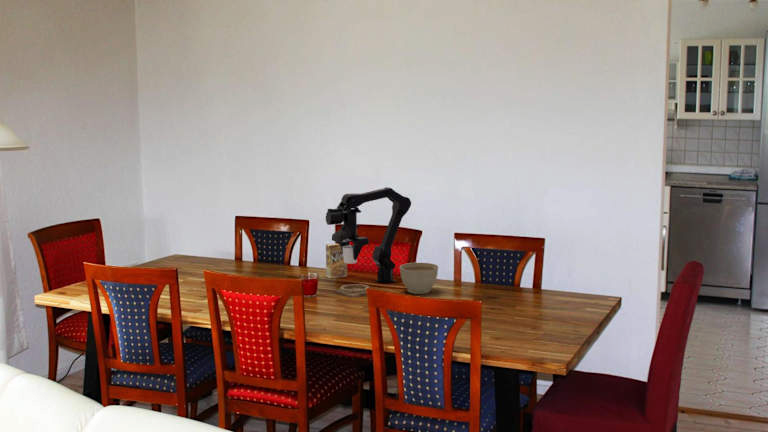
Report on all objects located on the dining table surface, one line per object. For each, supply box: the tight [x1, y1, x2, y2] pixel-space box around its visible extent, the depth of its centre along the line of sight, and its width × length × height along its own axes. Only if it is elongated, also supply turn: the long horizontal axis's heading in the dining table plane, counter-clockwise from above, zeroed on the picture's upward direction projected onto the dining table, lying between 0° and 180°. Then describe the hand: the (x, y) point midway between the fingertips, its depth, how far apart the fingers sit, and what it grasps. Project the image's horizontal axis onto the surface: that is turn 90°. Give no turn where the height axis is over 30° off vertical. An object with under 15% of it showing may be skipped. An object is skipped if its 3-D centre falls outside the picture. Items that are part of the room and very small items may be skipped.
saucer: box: [334, 283, 370, 299], centre depth 342 cm, size 12×12×2 cm
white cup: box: [342, 244, 358, 265], centre depth 354 cm, size 7×7×7 cm
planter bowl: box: [399, 262, 439, 295], centre depth 343 cm, size 16×16×11 cm
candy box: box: [325, 242, 348, 279], centre depth 371 cm, size 9×4×15 cm, turn 118°
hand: (350, 258), depth 354 cm, fingers closed on white cup, 6 cm apart
